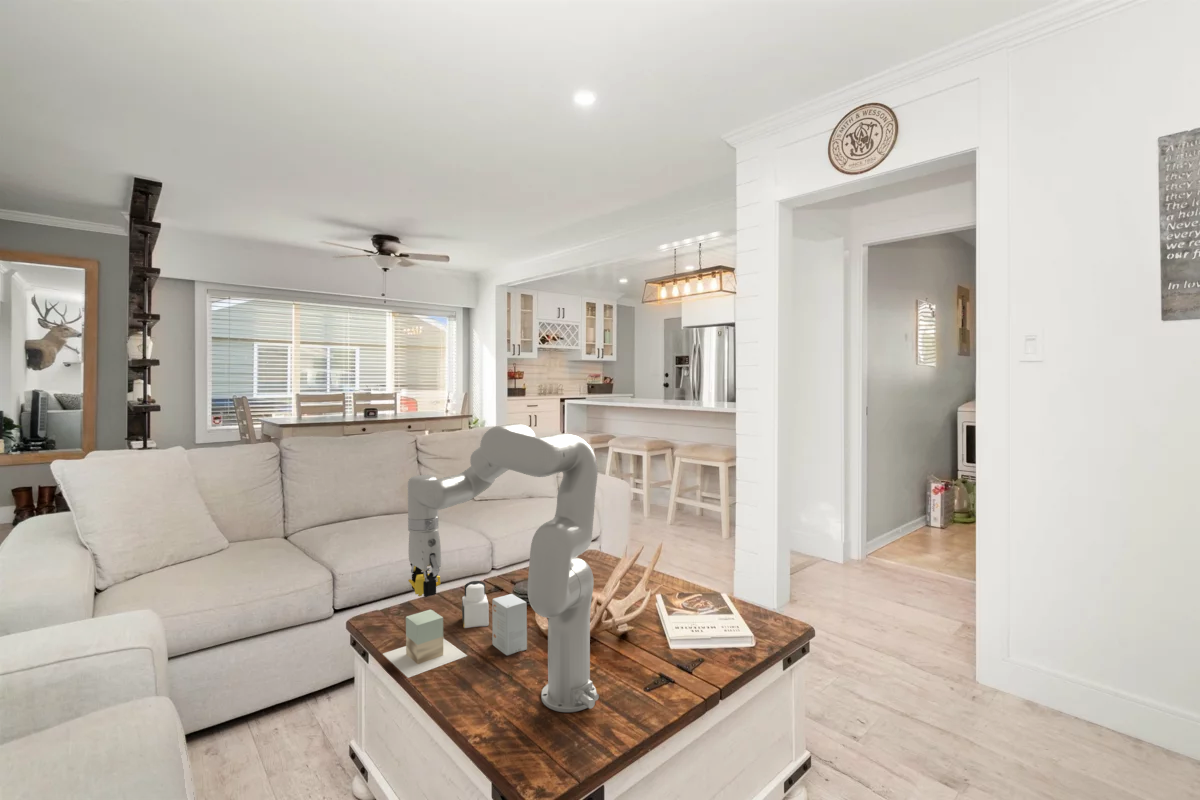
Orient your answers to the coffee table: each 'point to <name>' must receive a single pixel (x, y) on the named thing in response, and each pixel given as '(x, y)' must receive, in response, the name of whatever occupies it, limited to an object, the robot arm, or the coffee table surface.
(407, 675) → the felt pad
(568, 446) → the robot arm
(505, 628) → the small box
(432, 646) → the tower bottom
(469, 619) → the medicine bottle
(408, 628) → the tower top
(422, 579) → the teapot
